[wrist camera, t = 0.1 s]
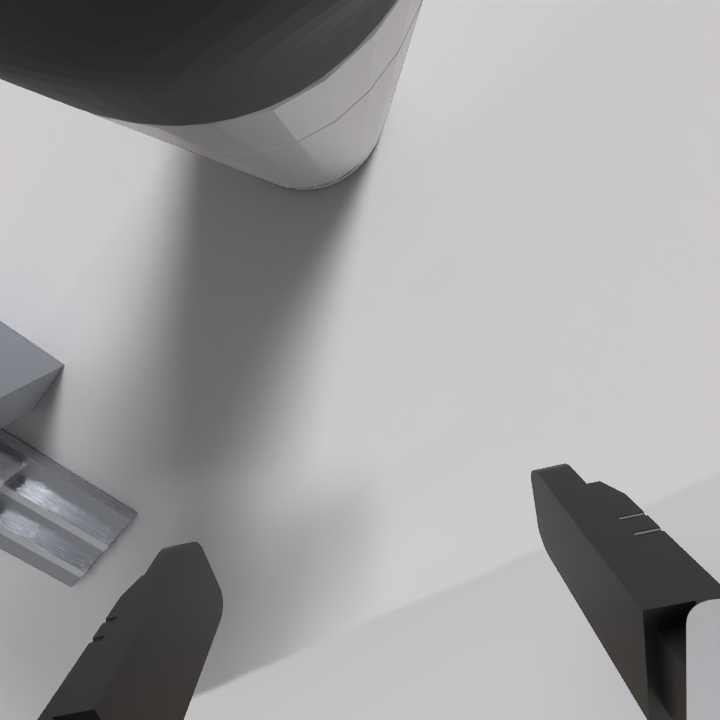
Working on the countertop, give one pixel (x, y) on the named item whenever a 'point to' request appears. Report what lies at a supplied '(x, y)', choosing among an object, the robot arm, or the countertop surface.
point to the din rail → (53, 513)
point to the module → (22, 374)
